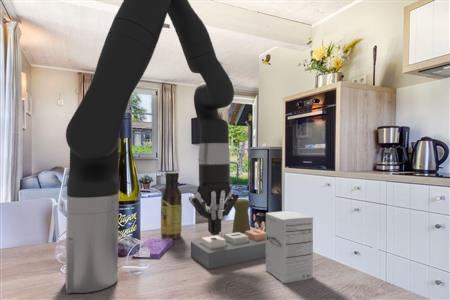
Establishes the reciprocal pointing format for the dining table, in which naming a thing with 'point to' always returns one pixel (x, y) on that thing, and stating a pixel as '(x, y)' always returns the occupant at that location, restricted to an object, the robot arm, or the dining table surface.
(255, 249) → the keypad
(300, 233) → the supplement box
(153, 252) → the sponges
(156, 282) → the dining table surface
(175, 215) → the sauce bottle
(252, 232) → the terracotta key
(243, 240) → the sage key
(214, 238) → the cream key
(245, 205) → the cork
